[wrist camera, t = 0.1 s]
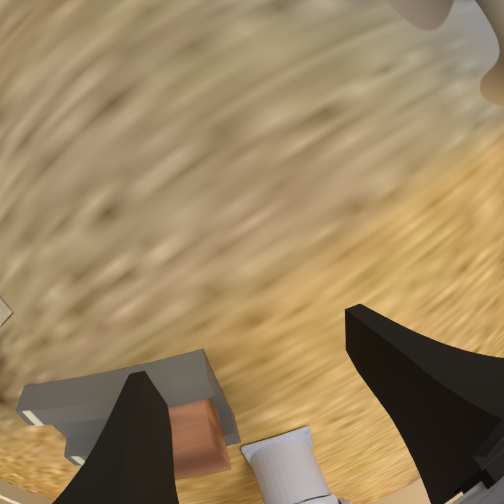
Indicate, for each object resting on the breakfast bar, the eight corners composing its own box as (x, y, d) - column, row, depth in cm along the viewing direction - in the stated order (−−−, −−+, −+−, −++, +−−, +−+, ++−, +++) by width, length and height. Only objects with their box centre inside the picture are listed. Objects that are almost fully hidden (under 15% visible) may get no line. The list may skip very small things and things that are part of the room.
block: (218, 413, 24) (231, 469, 19) (166, 424, 24) (171, 480, 18) (201, 379, 22) (211, 442, 17) (142, 392, 21) (142, 455, 16)
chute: (234, 415, 26) (241, 443, 23) (78, 442, 24) (75, 466, 21) (203, 348, 22) (208, 380, 19) (24, 386, 20) (15, 412, 17)
